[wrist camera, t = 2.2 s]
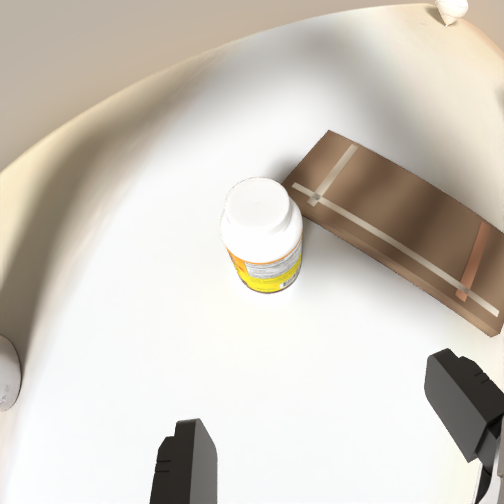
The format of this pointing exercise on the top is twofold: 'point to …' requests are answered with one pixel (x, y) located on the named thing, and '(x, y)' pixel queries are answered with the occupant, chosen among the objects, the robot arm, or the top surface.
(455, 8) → the spinning top
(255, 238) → the supplement bottle
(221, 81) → the top surface
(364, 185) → the walnut board
